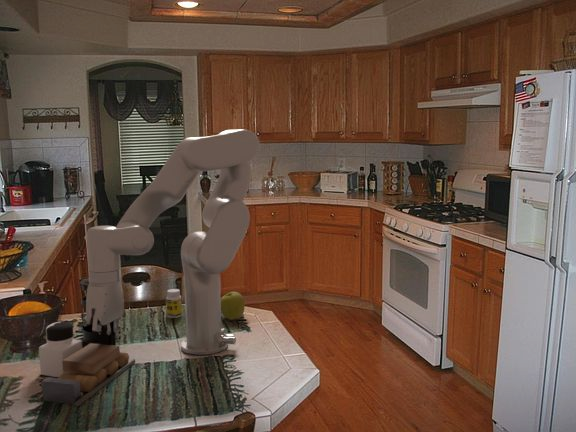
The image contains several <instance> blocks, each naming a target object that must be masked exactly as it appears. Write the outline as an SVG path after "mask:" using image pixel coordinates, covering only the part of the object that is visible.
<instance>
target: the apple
mask: <svg viewBox="0 0 576 432" xmlns="http://www.w3.org/2000/svg"><path fill="white" fill-rule="evenodd" d="M245 306H246V305H245V300H244V297H243V295H242V294H241V293H239V292H237V291H234V289H232V290H231V291H230V292H228V293H226V294H224V295H223V296H222V297H221V314H222V315H223V317H225V319H227V320H230V321H233V320H241V318H242V316H243V315H244V312H245Z"/></svg>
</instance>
